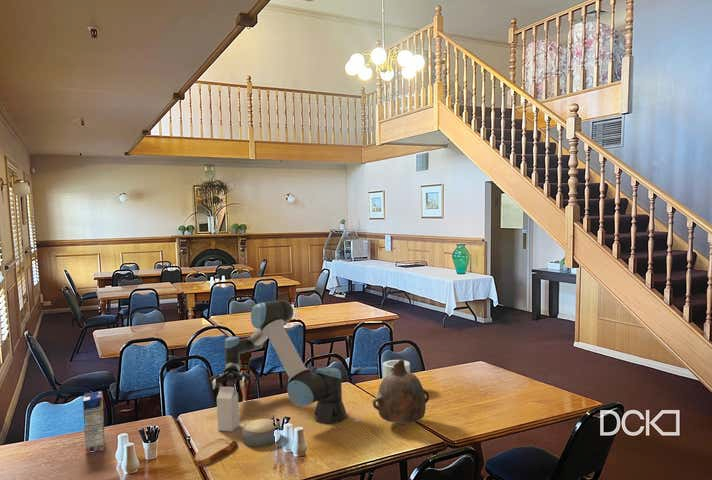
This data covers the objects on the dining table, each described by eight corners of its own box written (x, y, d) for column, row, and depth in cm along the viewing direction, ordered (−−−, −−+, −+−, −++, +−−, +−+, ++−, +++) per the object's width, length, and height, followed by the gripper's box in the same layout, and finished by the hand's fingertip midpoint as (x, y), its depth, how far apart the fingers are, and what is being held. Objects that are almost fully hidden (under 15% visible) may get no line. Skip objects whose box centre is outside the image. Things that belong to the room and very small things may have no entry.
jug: (401, 411, 235) (398, 349, 234) (437, 422, 220) (435, 356, 219) (365, 427, 218) (363, 360, 217) (402, 440, 202) (400, 368, 202)
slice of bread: (194, 469, 186) (194, 459, 186) (191, 450, 203) (190, 441, 202) (242, 458, 193) (242, 449, 193) (235, 441, 209) (234, 432, 209)
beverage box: (85, 453, 202) (83, 401, 202) (87, 443, 212) (84, 393, 212) (104, 449, 205) (101, 397, 205) (104, 440, 215) (102, 390, 215)
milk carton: (232, 431, 219) (230, 389, 218) (218, 431, 220) (216, 389, 220) (239, 425, 226) (237, 384, 225) (225, 424, 227) (223, 384, 227)
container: (397, 397, 255) (396, 369, 254) (376, 390, 267) (375, 363, 267) (418, 389, 265) (417, 363, 265) (396, 383, 277) (395, 357, 277)
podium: (287, 433, 214) (286, 420, 214) (268, 449, 199) (267, 434, 199) (255, 429, 220) (255, 416, 220) (235, 444, 205) (234, 430, 205)
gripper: (256, 377, 255) (255, 390, 235) (206, 381, 251) (201, 395, 230) (255, 362, 255) (254, 374, 234) (206, 366, 251) (200, 379, 230)
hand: (228, 384), depth 232 cm, fingers open, 13 cm apart
